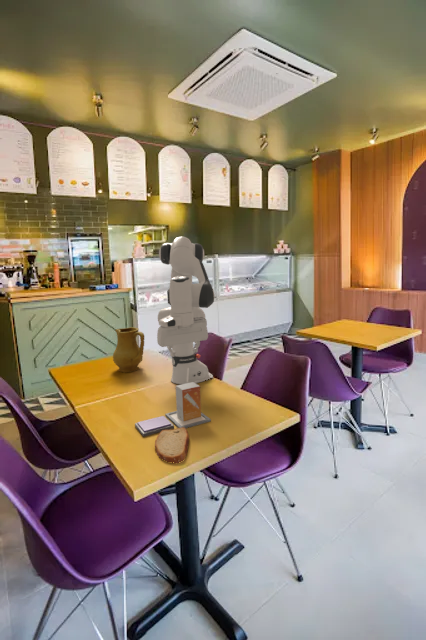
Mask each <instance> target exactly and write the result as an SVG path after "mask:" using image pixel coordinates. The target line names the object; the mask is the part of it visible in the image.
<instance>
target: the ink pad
mask: <svg viewBox="0 0 426 640" xmlns="http://www.w3.org/2000/svg"><path fill="white" fill-rule="evenodd" d="M134 427H135V429H137V431H138V432H139V433H140V434H141V436H142V437H147V436H151V435H155V434H159V433H160V432H161V431H162V430H174V429H175V424H174V423H173V422H172V421H171V420H170V419H168V418H167V417H166V416H165V415H161V416H157V417H152V418H149V419H145V420H140V421H137V422H134Z"/></svg>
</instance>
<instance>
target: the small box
mask: <svg viewBox="0 0 426 640" xmlns="http://www.w3.org/2000/svg"><path fill="white" fill-rule="evenodd" d="M175 399H176V400H175V403H176V411H177V416H178V417H179V418H180V419H181V420H182V421H187V420H190V419H194V418H198V417H201V412H202V403H201V386H200V385H199V384H198V383H194V382H191V383H186V384H177V385H175Z"/></svg>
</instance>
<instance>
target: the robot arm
mask: <svg viewBox="0 0 426 640" xmlns="http://www.w3.org/2000/svg"><path fill="white" fill-rule="evenodd" d="M158 256H159V259H160V262H161V263H162V264H163V265H170V267H171V273H170V280H169V281H170V282H169V288H168V289H167V292H166V295H167V296H166V297H167V304H168V305H169V307H165V308H161V309H160V310H159V311H158V314H157V321H158V325H159V327H158V329H157V332H156V333H157V335H156V336H157V337H156V338H157V340H156V341H157V342H156V343H157V345H159V347H161V348H165V347H166V348H167V350H168V351H169V352H170V353H169V354H170V357H171V364H172V374H171V379H170V382H172V383H173V384H177V385H182V384H186V383H191V382H194V383H196V384H198V383H199V384H200V383H203V382H205V380H206V381H209V380H211V379H210V378H212V379H213V378H214V375H213V374H212V373H210V372H209V369H208V365H206V364H204V363H203V362H201V360H198V359H200V358H201V354H199V353H198V352H199V351H198V350H199V347H200V345H201V341H202V342H203V341H207V340H208V338H209V333H208V327H207V325H208V320H207V319H206V313H205V312H204V310H203V309H207V308H209V307H210V306H211V305H213V303H214V302H215V291H214V288H213V286H212V283H211V282H210V281H211V280H210V279H209V275H208V273H207V270H206V268H205V266H204V262H203V261H204V258H205V249H204V247H203V245H202V244H200V243H193V242H192V241H191V239H189V238H188V237H186V236H182V235H181V236H178V237H175V239H174V240H173V241H172V242H165V243H162V244H161V246H160V247H159V250H158ZM193 277H195V278H196V279H197V283H193ZM194 344H195V345H194ZM208 379H209V380H208Z"/></svg>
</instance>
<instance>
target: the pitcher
mask: <svg viewBox="0 0 426 640" xmlns="http://www.w3.org/2000/svg"><path fill="white" fill-rule="evenodd" d="M114 330H115V331H114V332H116V336H117V337H116V339H117V344H116V347H115V350H114V351H113V354H112V361H113V362H114V364H115V366H117V367H118V372H120V373H130V372H131V373H133V372H135V371H138V370H139V369H140V367H139V365H140V363H142V361H143V355H144V349H145V348H144V347H145V334H144V332H143V331H139V328H137V327H133V326H130V327H124V328H117V329H114ZM137 336H139V338H140V339H139V341H140V344H138V342H137Z"/></svg>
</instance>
